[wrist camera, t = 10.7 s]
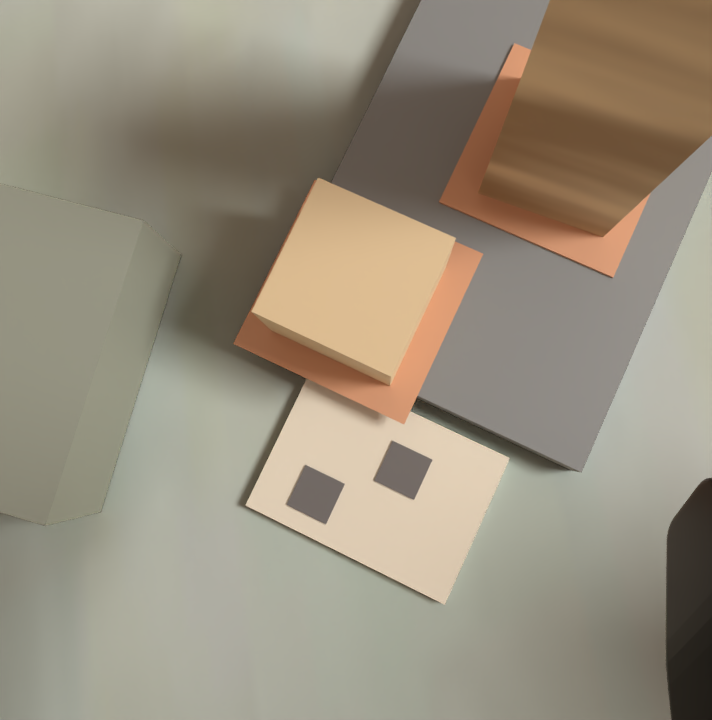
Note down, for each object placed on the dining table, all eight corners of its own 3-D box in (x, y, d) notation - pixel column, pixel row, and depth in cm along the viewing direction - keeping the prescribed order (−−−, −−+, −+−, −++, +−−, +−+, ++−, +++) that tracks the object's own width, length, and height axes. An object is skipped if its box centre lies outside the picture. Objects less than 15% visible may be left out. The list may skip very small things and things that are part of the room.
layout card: (443, 602, 20) (444, 605, 20) (247, 504, 21) (244, 505, 21) (508, 457, 21) (510, 458, 21) (313, 366, 22) (312, 365, 21)
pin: (603, 237, 21) (970, -107, 8) (477, 192, 21) (626, -206, 8) (645, 119, 21) (1060, -395, 8) (521, 78, 21) (730, -477, 8)
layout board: (559, 499, 21) (602, 513, 17) (241, 348, 22) (207, 327, 18) (735, 95, 22) (814, 17, 18) (427, -28, 23) (436, -128, 19)
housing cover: (100, 512, 21) (45, 526, 18) (-94, 454, 22) (-184, 457, 18) (181, 254, 22) (143, 220, 19) (-7, 205, 23) (-77, 163, 19)
